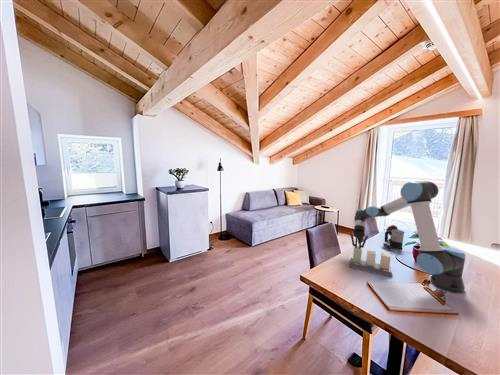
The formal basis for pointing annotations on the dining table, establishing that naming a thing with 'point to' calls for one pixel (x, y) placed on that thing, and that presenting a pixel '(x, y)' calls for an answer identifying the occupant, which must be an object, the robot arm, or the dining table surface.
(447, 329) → the dining table surface
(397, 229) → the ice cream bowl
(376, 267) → the grey tray
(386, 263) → the beige tall block
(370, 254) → the cream upright block
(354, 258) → the key sage
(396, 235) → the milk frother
